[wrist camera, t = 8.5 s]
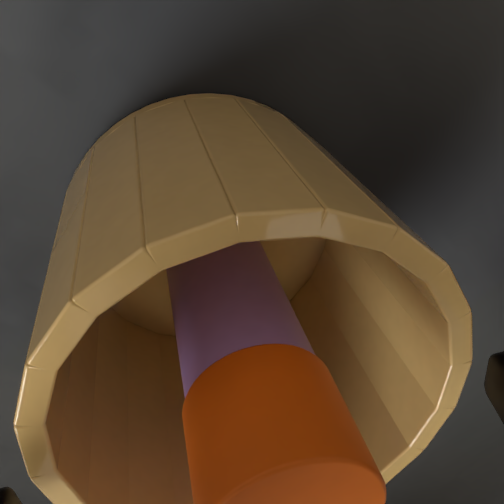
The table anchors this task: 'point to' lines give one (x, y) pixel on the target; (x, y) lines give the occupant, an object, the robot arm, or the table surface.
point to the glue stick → (260, 392)
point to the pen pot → (205, 242)
